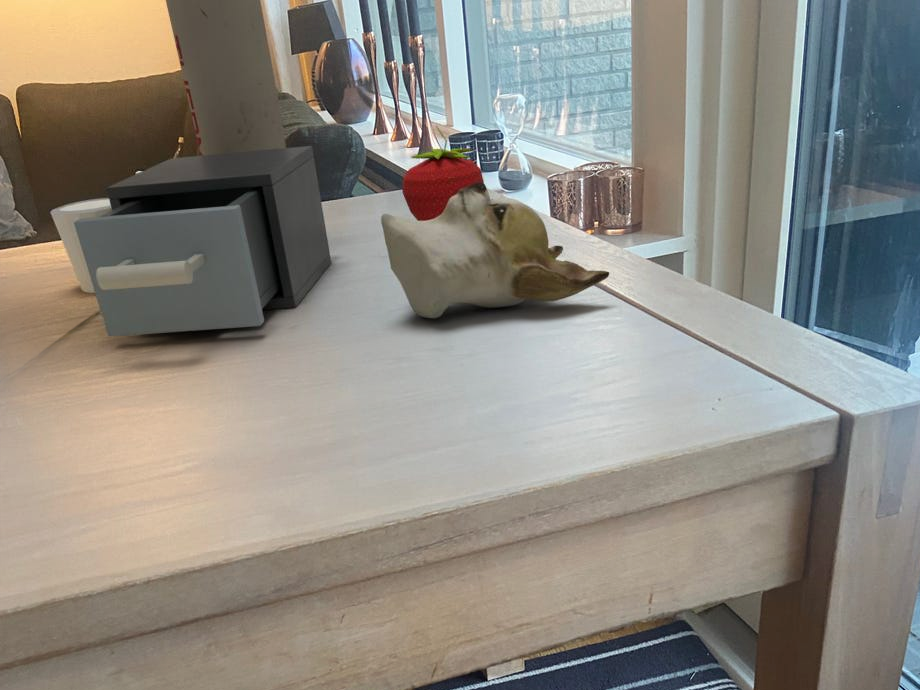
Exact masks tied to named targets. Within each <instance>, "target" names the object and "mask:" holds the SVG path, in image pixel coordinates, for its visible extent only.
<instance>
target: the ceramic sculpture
mask: <svg viewBox="0 0 920 690" xmlns="http://www.w3.org/2000/svg"><path fill="white" fill-rule="evenodd" d="M380 223H381V227H382V232H383V235H384V236H383V237H384V242H385V246H386V250H387V254H388V259H389V264H390V269H391V271H392V272H393V274H394V275H395V277H396V278H397V279H398V282H399V283H400V285H401V287H402V289H403V292H404V294H405V296H406V298H407V301H408V303H409V306H410V307H411V309H412V310H413V312H414V313H416V314H417V315H418V316H419V317H423V318H425V319H437V318H439V317H441V316H442V315H443V314H444V312H445V311H446V310H447V309H448V308H449V307H450V306H452V305H456V304H468V305H472V306H473V305H474V306H478V307H480V308H481V307H482V308H493V309H494V308H503V307H509V306H510V307H511V306H516V305H519V304H520V303H522V302H524V301H525V300H531V301H532V300H533V301H538V302H557V301H560V300H564V299H568V298H569V297H573V296H575V295H578V294H579V293H581V292H583V291H585V290H588V289H590V288H591V287H593V286H595V285H597V284H599V283H601V282H603V281H605V280H606V279H608V277H609V276H610V272H609V271H607V270H593V269H592V270H587V269H586V268H584V267H583V266H581V265H579V264H578V263H575V262H572V261H569V260H559V259H557V258H558V257H559V256H560V255H562V253H563V251H564V246H563V245H553V246H550V247H549V242H550V241H549V237H548V231H547V228H546V224H545V223H544V220H543V219H542V217H541V216H540V215H539V213H538V212H537V211H536V210H535V209H534V208H533V207H531V206H529V205H528V204H526V203H524V202H522V201H520V200H517V199H515V198H510V197H502V198H495V199H493V198H492V199H491V197H490V194H489V190H488V188H487V186H486V184H485V182H484V183H483V182H477V183H474V184H472V185H470V186H468V187H466V188H462V189H460V190H459V191H458V193H457V194H456V195H454V196H452V197H451V198H450V199H449V201H448V203H447V206H446V208H445V210H444V211H443V213H442V214H441V215H439V216H438V217H436V218H434V219H431V220H427V221H418V220H417V219H412V218H409V217H408V218H407V217H405V216H394V215H391V214H389V213H383V214H382V215H381V216H380Z"/></svg>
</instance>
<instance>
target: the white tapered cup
mask: <svg viewBox="0 0 920 690" xmlns="http://www.w3.org/2000/svg"><path fill="white" fill-rule="evenodd" d="M109 200H110V199H109V197H99V198H93V199H86V200H81V201H76V202H75V201H74V202H72V203H67V204H64V205H61V206H58V207H55V208H54V209H52V210H51V211H50V215H51V218H52V220H53V222H54V225H55V228H56V230H57V232H58V234H59V237H60V239H61V242H62V244H63V247H64V249H65V252H66V254H67V257H68V259H69V261H70V264H71V266H72V269H73V271H74V274H75V276H76V279H77V281H78V284H79V286H80V289H81V291H83V292H84V293H90V294H95V291H94V287H93V284H92V281H91V278H90V274H89V271H88V268H87V264H86V261H85V258H84V255H83V251H82V248H81V245H80V241H79V238H78V235H77V232H76V228H75V225H74V222H75V221H77V220H79V219H81V218H93V217H100V216H102V215H104V214H106V213H108V212H110V211H112V208H111V204H110V201H109Z"/></svg>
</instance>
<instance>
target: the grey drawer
mask: <svg viewBox="0 0 920 690" xmlns="http://www.w3.org/2000/svg"><path fill="white" fill-rule="evenodd" d="M262 187H263V186H260V187H248V188H237V189H225V190H213V191H202V192H190V193H178V194H167V195H155V196H143V197H137V198H135V199H133V200H131V201H130V202H128V203H126V204H124V205H122V206H120V207H118V208H116V209H114V210H112V211H110V212H108V213H106V214H104V215H102V216H100V217H93V218H81V219H79V220H77V221H75V222H74V225H75V228H76V232H77V235H78V238H79V241H80V245H81V248H82V251H83V255H84V258H85V261H86V264H87V268H88V271H89V274H90V278H91V281H92V284H93V287H94V291H95V293H94V294H95V297H96V301H97V304H98V307H99V311H100V313H101V317H102V320H103V323H104V327H105V330H106V334H107V336H108V337H121V336H122V337H123V336H135V335H136V336H137V335H149V334H151V335H152V334H164V333H165V334H166V333H180V332H192V331H195V332H196V331H206V330H223V329H235V328H237V329H238V328H250V327H260V326H262V325H263V323H264V322H265V317H264V313H263V310H262V308H263V307H264V306H265V305H266V304H267V303H268V302H269V301H270V299H271V298H272V297H273V296H274V295H275V294H276V293H277V292H278V291H279V289H280V288H281V287H282V285H281V280H280V275H279V270H278V264H277V259H276V254H275V249H274V244H273V239H272V234H271V229H270V224H269V219H268V214H267V208H266V203H265V198H264V193H263V188H262Z"/></svg>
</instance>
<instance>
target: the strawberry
mask: <svg viewBox="0 0 920 690" xmlns="http://www.w3.org/2000/svg"><path fill="white" fill-rule="evenodd" d="M435 127H436V130H437V131H438V133H439V134H440V135H441V136H442V138H443V139H444V141H445V142H444V148H432V149H431V150H430V151H426V152H423V153H420V154H415V155H412V156H410V157H411V158H410V159H421V160H422V159H424V160H423V161H422V162H420V163H418V164H416V165H414V166H412V167H410V168H408V170H407V171H406V172H405V174H404V176H403V178H402V190H401V191H402V194H403V198H404V200H405V202H406V205H407V207H408V209H409V211H410V214H411V215H412V216H413V218H414V219H415V220H416V221H427V220H431V219H434V218H436V217H438V216H439V215H441V214H442V213H443V211H444V210H445V208H446V206H447V203H448V201H449V199H450V198H451V197H452V196H454V195H456V194H457V193H458V191H459V190H460V189H462V188H466V187H468V186H470V185H472V184H474V183H477V182H483V183H484V184H485V180H484V177H483V174H482V169H481V168H480V167H479V166H478V164H476V163H475V161H474V160H470V157H469V156H468V155H465V154H464V153H466V152H467V153H468V152H471V151H472V148H452V149H451V150H447V149H446V148H447V143H448V140H447V138H446V137H445V136H444V134H443V132H442V131H441V130H440V128H439V127H438V126H437V125H435Z"/></svg>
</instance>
